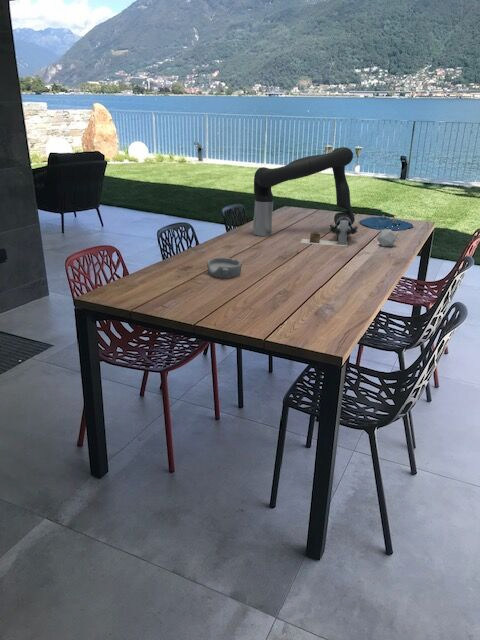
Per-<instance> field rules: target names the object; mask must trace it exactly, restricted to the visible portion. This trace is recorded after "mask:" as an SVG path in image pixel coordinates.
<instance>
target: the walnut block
mask: <svg viewBox="0 0 480 640" xmlns="http://www.w3.org/2000/svg"><path fill="white" fill-rule="evenodd" d="M321 233H322V232H321V231H311V232H310V235H309V239H310V243H319V242H320V240H321ZM310 243H309V244H310Z"/></svg>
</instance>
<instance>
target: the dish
mask: <svg viewBox="0 0 480 640" xmlns="http://www.w3.org/2000/svg"><path fill="white" fill-rule="evenodd" d="M206 263H207V264H206V267H207V271H208V274H209V275H210V276H211V277H216V278H219V277H221V278H220V279H230V278H231V279H232V278H235V277H238V276H240V275H241V274H242V273H241V272H242V265H243V263H242V261H240V260H238V259H233V258H230V257H214V258H213V257H212V258H210V259H208V260H207V262H206Z"/></svg>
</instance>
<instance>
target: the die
mask: <svg viewBox="0 0 480 640" xmlns="http://www.w3.org/2000/svg"><path fill="white" fill-rule="evenodd" d="M397 239H398V235H396V234H395V232H394V230H391V229H390V230H380V232H379V235H378V236H377V238H376V240H377V241H378V242H379V244H380V245H381V247H393V245H395V242H396V240H397Z"/></svg>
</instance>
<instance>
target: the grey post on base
mask: <svg viewBox="0 0 480 640" xmlns="http://www.w3.org/2000/svg"><path fill="white" fill-rule="evenodd" d="M348 223H349V221H347V220H340V227H339V235H338V236H337V238H338V239H337V240H336V241H335V240H325V239H324V240H322V239H320V242H319V243H310V238H309V239H307V238H301V241H300V243H301V244H311V245H312V244H313V245H326V246H336V247H337V246H338V247H339V246H340V247H348V240H347V239H348V235H347V232H348Z"/></svg>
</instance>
